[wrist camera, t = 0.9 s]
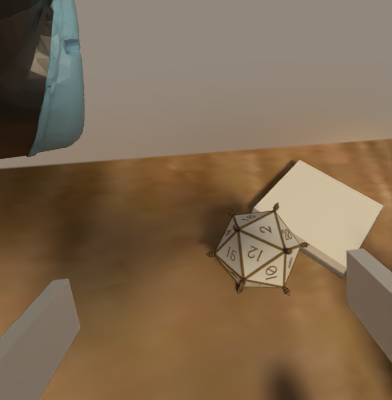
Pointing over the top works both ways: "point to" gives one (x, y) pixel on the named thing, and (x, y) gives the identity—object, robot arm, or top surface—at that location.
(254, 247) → the game die
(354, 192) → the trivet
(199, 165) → the top surface
